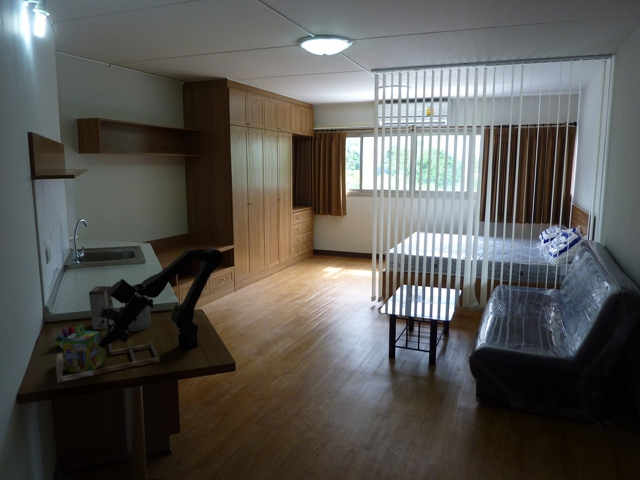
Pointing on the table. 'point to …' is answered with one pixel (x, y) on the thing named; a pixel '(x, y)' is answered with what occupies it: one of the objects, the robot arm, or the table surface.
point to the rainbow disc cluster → (60, 337)
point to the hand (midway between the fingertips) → (100, 346)
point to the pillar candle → (142, 319)
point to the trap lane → (112, 368)
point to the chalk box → (82, 351)
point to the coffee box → (100, 305)
